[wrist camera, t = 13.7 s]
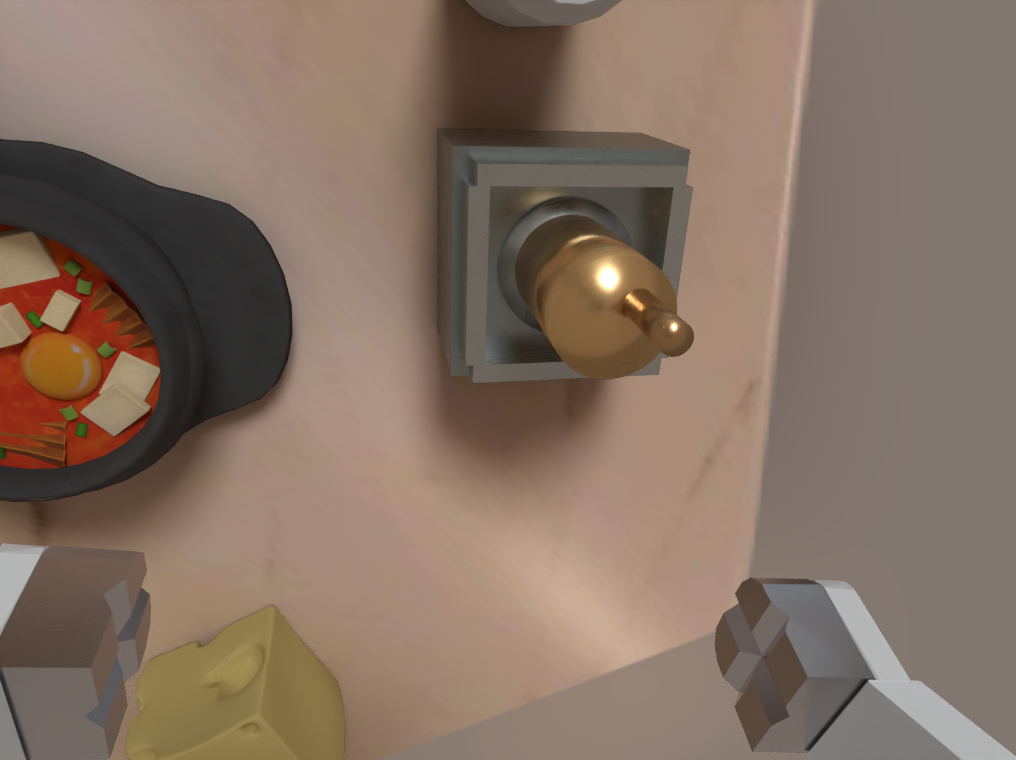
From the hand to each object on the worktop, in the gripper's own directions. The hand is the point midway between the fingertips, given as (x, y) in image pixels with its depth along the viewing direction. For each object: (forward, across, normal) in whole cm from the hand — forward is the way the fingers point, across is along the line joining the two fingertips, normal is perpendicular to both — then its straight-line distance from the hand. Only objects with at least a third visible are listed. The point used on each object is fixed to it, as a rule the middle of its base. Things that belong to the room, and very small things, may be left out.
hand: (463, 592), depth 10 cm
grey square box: (+34, -8, +9) cm, 36 cm away
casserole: (+32, +18, +16) cm, 40 cm away
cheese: (+27, +7, +44) cm, 52 cm away
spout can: (+27, -8, +8) cm, 29 cm away
